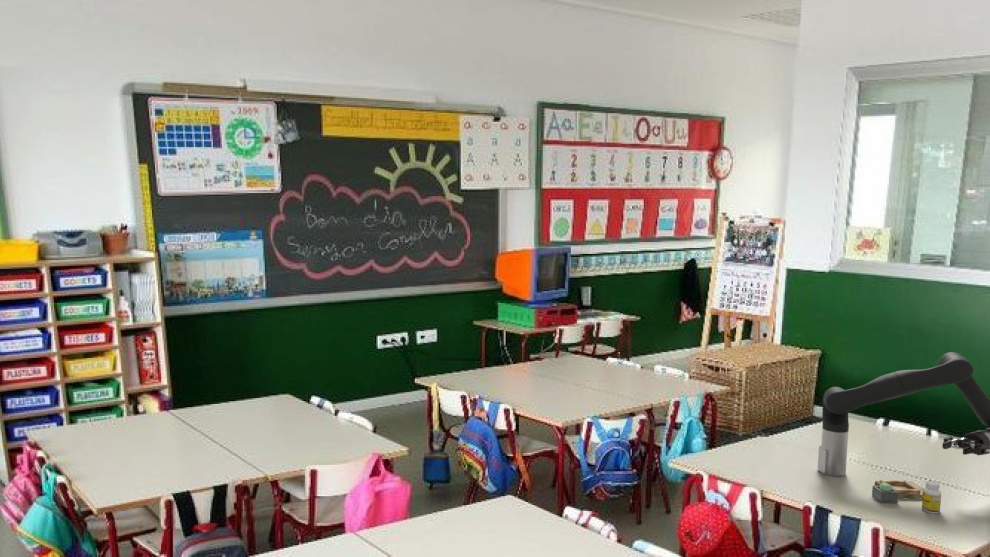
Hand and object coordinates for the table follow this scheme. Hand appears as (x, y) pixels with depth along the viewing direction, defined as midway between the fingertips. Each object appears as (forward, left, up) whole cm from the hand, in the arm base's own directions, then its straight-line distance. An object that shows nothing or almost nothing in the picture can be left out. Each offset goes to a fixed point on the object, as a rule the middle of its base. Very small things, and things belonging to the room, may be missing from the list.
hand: (953, 448), depth 257 cm
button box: (-21, +3, -20) cm, 29 cm away
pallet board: (-10, +11, -20) cm, 25 cm away
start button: (-21, +3, -18) cm, 28 cm away
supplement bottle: (-10, -6, -20) cm, 23 cm away
